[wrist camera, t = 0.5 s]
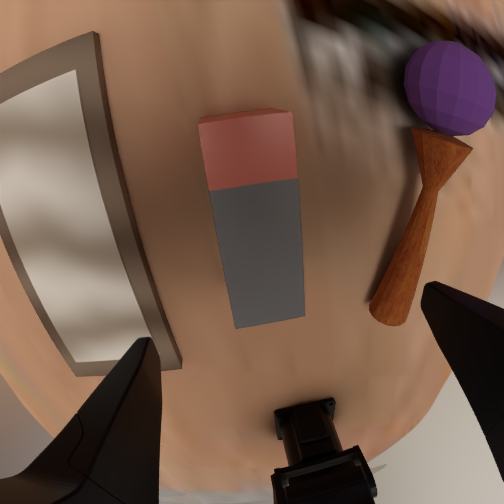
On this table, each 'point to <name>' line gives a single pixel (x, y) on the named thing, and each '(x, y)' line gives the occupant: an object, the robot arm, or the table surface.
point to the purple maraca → (434, 155)
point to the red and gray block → (256, 212)
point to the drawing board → (74, 211)
